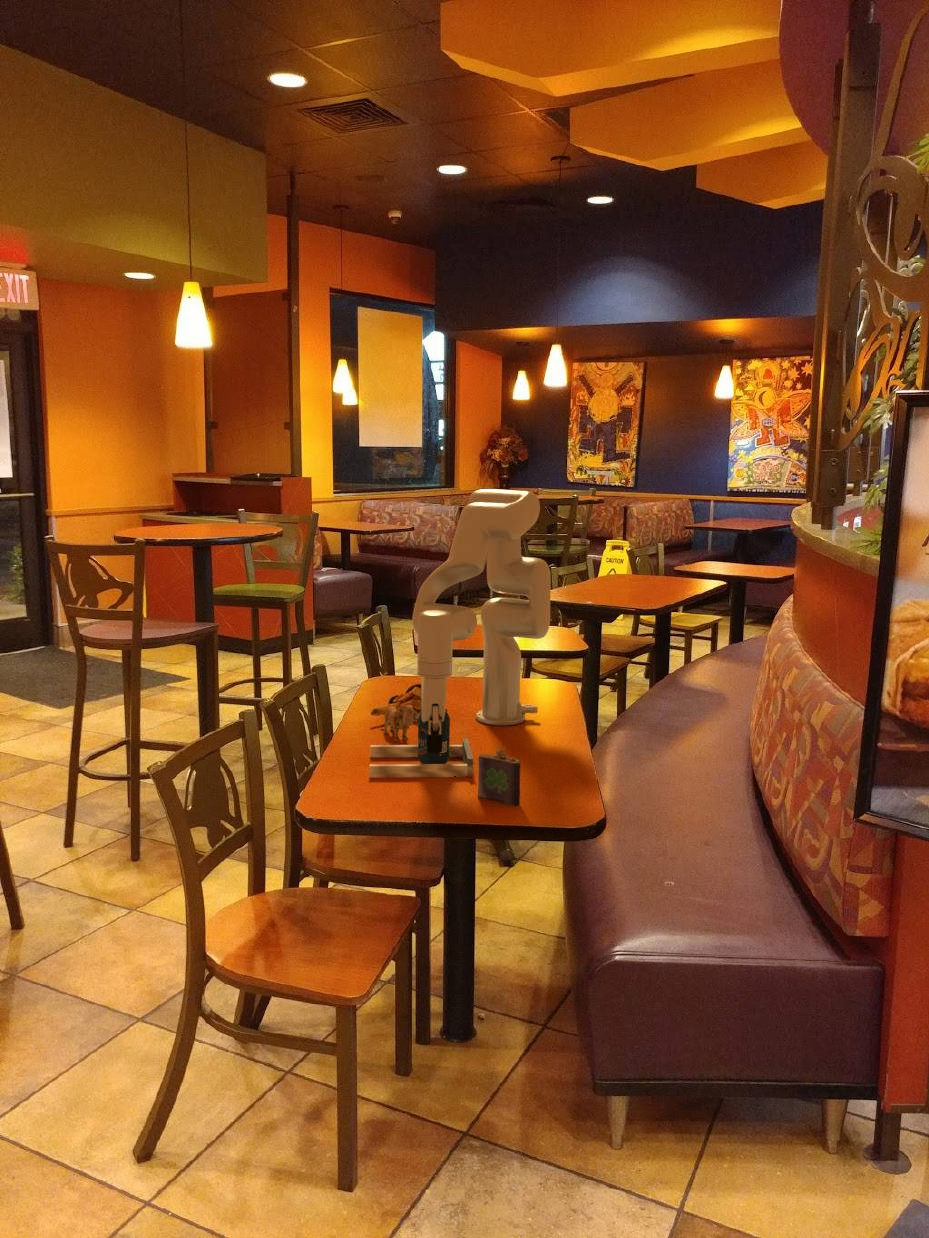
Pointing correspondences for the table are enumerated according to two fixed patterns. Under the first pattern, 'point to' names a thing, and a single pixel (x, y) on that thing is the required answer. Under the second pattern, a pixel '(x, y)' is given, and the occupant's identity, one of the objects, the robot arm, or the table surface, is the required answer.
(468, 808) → the table surface
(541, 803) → the table surface
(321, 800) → the table surface
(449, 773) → the guide track
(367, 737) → the table surface
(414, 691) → the fried shrimp in bowl
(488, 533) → the robot arm
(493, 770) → the flask
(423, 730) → the soda can
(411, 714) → the lion figurine
